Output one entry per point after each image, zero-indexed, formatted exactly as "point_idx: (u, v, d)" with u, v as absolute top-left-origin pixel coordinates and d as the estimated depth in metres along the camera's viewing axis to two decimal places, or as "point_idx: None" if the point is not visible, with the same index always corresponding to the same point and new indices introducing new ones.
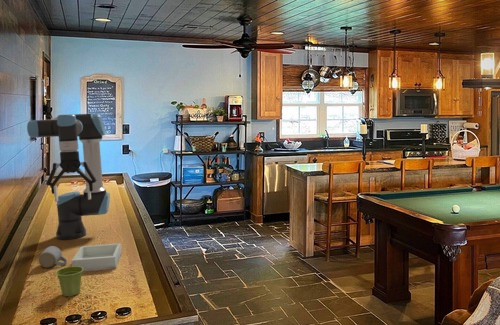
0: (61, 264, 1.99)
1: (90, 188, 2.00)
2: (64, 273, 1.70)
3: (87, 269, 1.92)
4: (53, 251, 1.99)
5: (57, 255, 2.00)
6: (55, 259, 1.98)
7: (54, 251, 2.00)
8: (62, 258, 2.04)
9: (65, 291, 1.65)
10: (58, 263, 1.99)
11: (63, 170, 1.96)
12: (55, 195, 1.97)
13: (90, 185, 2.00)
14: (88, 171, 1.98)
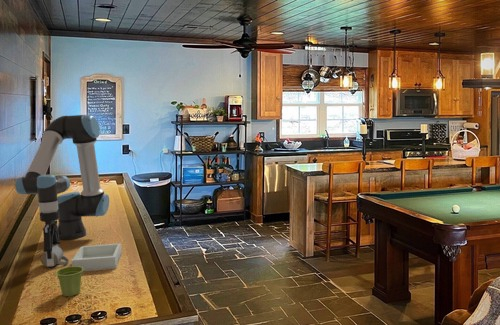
0: (63, 263, 2.00)
1: None
2: (64, 273, 1.70)
3: (87, 269, 1.92)
4: (55, 250, 2.00)
5: (59, 254, 2.01)
6: (57, 258, 1.98)
7: (55, 250, 2.00)
8: (64, 257, 2.04)
9: (65, 291, 1.65)
10: (60, 262, 1.99)
11: None
12: None
13: None
14: None
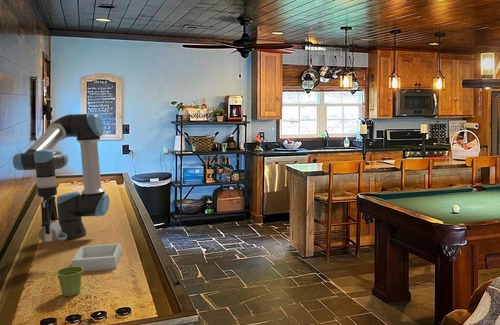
0: (61, 239, 1.99)
1: None
2: (64, 273, 1.70)
3: (87, 269, 1.92)
4: (53, 226, 1.99)
5: (57, 230, 2.00)
6: (55, 234, 1.97)
7: (54, 226, 1.99)
8: (62, 233, 2.03)
9: (65, 291, 1.65)
10: (58, 238, 1.98)
11: None
12: None
13: None
14: None
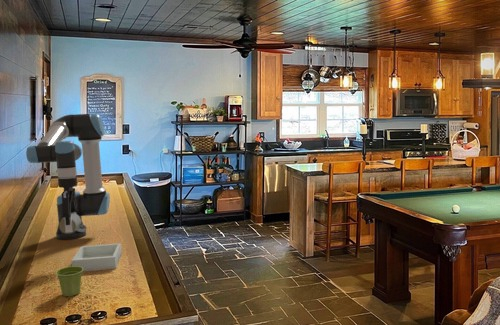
0: (81, 230, 1.98)
1: None
2: (64, 273, 1.70)
3: (87, 269, 1.92)
4: (73, 217, 1.99)
5: (77, 221, 1.99)
6: (75, 225, 1.97)
7: (74, 217, 1.99)
8: (82, 225, 2.03)
9: (65, 291, 1.65)
10: (78, 229, 1.98)
11: None
12: None
13: None
14: None
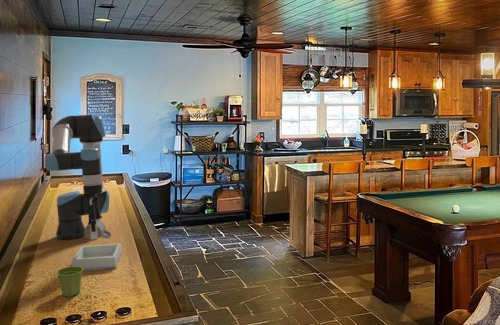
0: (106, 237, 1.99)
1: None
2: (65, 273, 1.70)
3: (87, 269, 1.92)
4: (98, 224, 1.99)
5: (102, 228, 2.00)
6: (100, 232, 1.98)
7: (99, 224, 2.00)
8: (106, 231, 2.04)
9: (65, 291, 1.65)
10: (103, 236, 1.99)
11: None
12: None
13: None
14: None
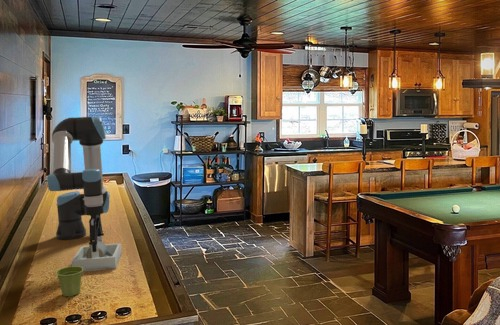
0: None
1: None
2: (64, 273, 1.70)
3: (87, 269, 1.92)
4: (100, 246, 2.01)
5: (104, 250, 2.02)
6: (102, 254, 1.99)
7: (100, 246, 2.01)
8: (107, 253, 2.05)
9: (65, 291, 1.65)
10: None
11: None
12: None
13: None
14: None
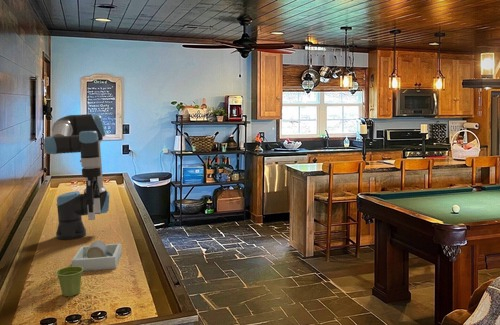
0: None
1: (88, 209, 1.92)
2: (64, 273, 1.70)
3: (87, 269, 1.92)
4: (101, 246, 2.01)
5: (104, 250, 2.02)
6: (103, 254, 1.99)
7: (101, 246, 2.01)
8: (108, 253, 2.05)
9: (65, 291, 1.65)
10: None
11: None
12: (93, 207, 2.06)
13: None
14: (86, 191, 1.91)
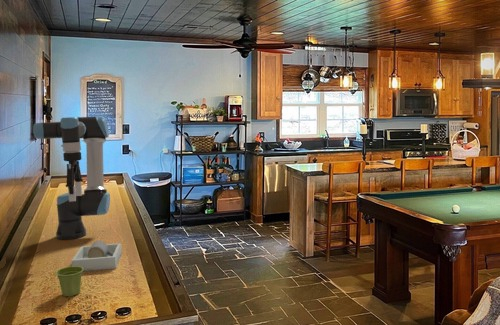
0: None
1: None
2: (64, 273, 1.70)
3: (87, 269, 1.92)
4: (101, 246, 2.01)
5: (105, 250, 2.02)
6: (104, 254, 1.99)
7: (102, 246, 2.01)
8: (109, 253, 2.05)
9: (65, 291, 1.65)
10: None
11: None
12: None
13: None
14: None
